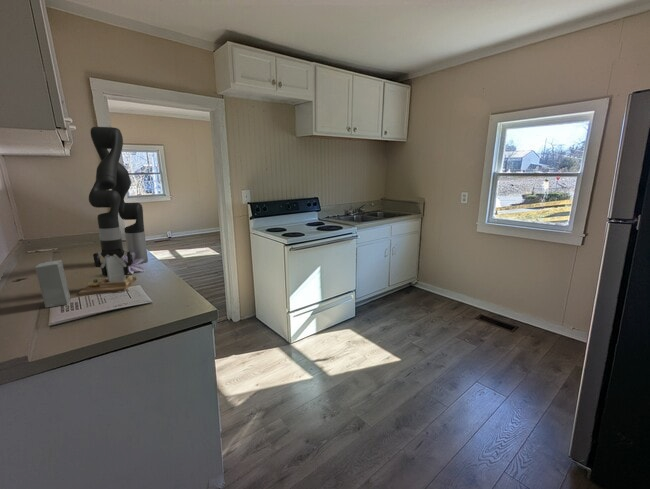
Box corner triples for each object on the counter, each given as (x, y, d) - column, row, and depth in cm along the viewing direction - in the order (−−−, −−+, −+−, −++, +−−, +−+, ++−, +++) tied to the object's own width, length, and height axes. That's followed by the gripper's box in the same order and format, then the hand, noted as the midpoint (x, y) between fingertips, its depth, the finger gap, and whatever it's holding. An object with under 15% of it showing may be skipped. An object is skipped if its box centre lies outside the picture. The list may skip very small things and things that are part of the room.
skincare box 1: (67, 304, 113) (60, 264, 109) (42, 309, 109) (33, 266, 106) (71, 297, 120) (64, 258, 116) (47, 301, 116) (39, 261, 113)
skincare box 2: (123, 278, 136) (120, 252, 133) (126, 281, 133) (122, 254, 130) (107, 281, 132) (103, 255, 129) (109, 284, 129) (105, 257, 126)
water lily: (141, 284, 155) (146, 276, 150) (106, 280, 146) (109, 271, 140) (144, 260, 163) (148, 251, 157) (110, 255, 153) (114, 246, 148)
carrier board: (96, 282, 137) (95, 275, 136) (136, 279, 141) (135, 273, 141) (79, 295, 122) (77, 287, 121) (124, 291, 126) (123, 284, 126)
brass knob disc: (91, 283, 132) (90, 278, 131) (105, 282, 133) (104, 277, 133) (86, 287, 127) (85, 281, 127) (100, 286, 128) (99, 281, 128)
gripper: (132, 235, 134) (137, 271, 137) (94, 237, 130) (100, 273, 133) (127, 239, 126) (132, 276, 130) (86, 240, 123) (93, 279, 126)
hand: (116, 275), depth 132 cm, fingers closed on skincare box 2, 7 cm apart
